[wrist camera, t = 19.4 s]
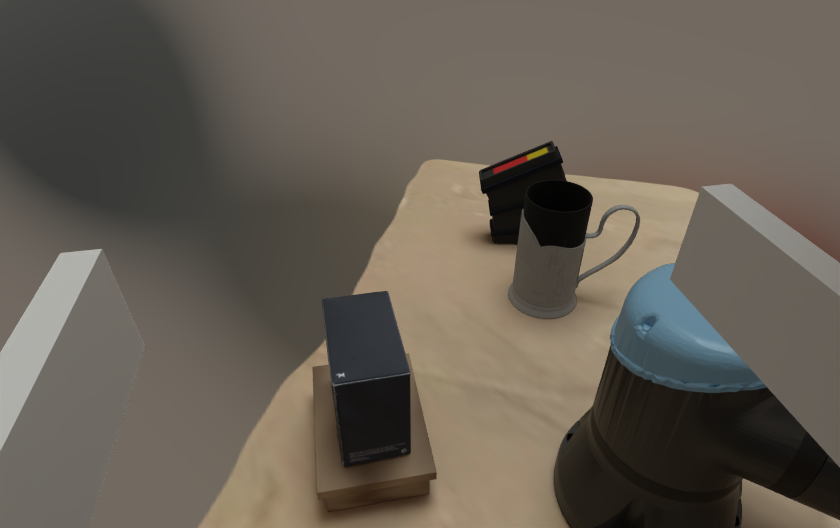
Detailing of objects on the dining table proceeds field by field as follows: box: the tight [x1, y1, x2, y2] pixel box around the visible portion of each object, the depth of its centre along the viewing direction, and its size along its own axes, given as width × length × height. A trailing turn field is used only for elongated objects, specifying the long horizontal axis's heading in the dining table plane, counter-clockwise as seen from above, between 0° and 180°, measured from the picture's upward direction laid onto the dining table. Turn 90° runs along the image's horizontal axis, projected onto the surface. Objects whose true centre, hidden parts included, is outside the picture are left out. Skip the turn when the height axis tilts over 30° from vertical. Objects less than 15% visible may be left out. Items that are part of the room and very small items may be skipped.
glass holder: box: [508, 180, 640, 319], centre depth 66 cm, size 9×14×15 cm, turn 87°
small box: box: [322, 291, 411, 467], centre depth 47 cm, size 11×6×10 cm, turn 13°
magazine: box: [479, 141, 567, 243], centre depth 78 cm, size 4×13×15 cm, turn 88°
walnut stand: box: [313, 354, 436, 512], centre depth 51 cm, size 10×14×4 cm
